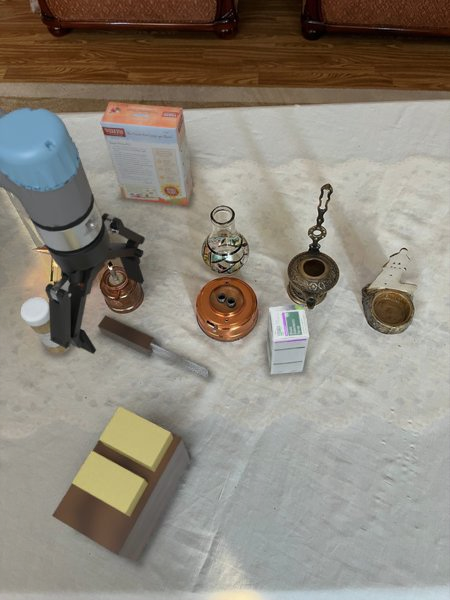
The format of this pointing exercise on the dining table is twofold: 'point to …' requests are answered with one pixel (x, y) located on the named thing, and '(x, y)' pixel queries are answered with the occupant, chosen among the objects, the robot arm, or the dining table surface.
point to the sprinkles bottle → (40, 321)
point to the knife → (143, 343)
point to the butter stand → (113, 523)
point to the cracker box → (149, 152)
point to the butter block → (136, 438)
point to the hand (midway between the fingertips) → (112, 312)
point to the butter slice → (110, 483)
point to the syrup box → (287, 338)
